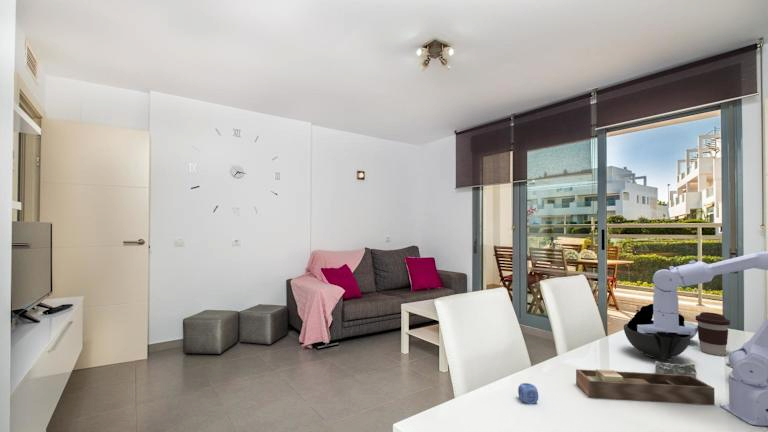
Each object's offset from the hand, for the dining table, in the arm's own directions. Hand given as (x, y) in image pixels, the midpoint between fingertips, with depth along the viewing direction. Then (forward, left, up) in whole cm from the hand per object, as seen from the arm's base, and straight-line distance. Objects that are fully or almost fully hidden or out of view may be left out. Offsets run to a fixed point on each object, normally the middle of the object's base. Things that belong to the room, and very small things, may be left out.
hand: (666, 358), depth 102 cm
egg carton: (+16, -13, -11) cm, 23 cm away
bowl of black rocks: (+33, -18, -11) cm, 39 cm away
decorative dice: (-8, +41, -11) cm, 43 cm away
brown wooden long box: (0, +7, -10) cm, 12 cm away
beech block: (0, +16, -7) cm, 17 cm away
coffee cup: (+41, -44, -11) cm, 61 cm away
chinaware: (+55, -40, -11) cm, 69 cm away
